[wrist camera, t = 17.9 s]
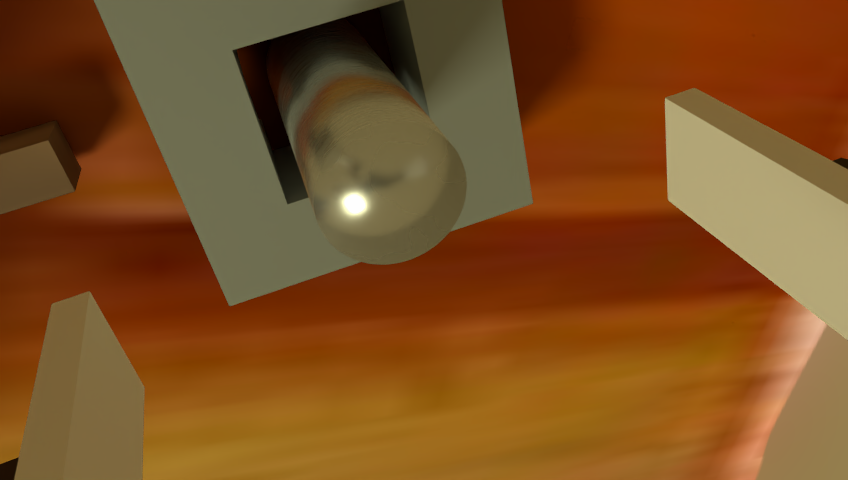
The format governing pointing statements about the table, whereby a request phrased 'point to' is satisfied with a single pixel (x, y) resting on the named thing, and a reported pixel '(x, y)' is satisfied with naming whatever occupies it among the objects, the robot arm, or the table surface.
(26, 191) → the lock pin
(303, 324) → the table surface
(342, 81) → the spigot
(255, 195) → the dock
